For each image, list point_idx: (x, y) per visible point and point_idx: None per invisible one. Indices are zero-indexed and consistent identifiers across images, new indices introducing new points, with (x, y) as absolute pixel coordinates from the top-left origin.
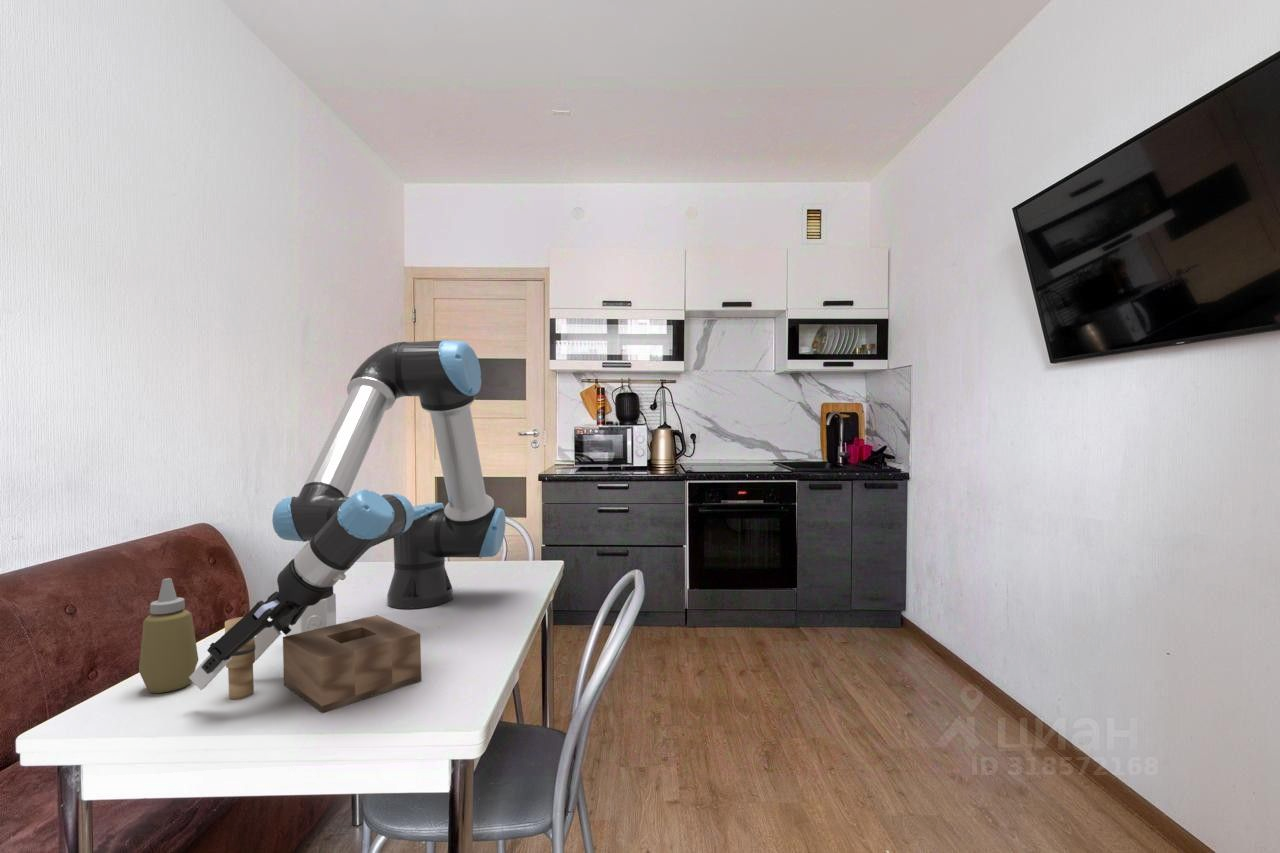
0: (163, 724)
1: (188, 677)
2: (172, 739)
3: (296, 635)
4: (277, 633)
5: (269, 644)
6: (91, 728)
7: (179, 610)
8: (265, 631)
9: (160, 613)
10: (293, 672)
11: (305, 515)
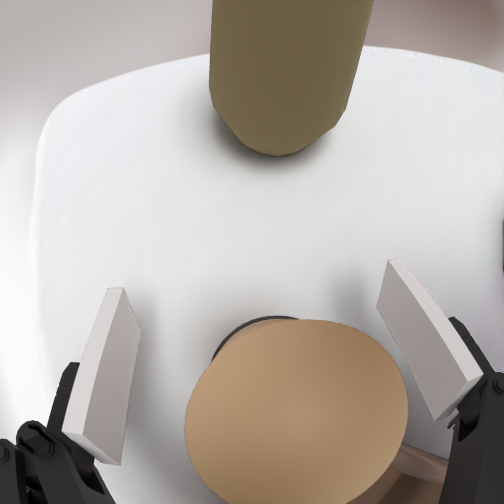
0: (83, 292)
1: (284, 150)
2: (40, 369)
3: (415, 500)
4: (438, 417)
5: (412, 374)
6: (71, 158)
7: None
8: (443, 363)
9: None
10: None
11: None
